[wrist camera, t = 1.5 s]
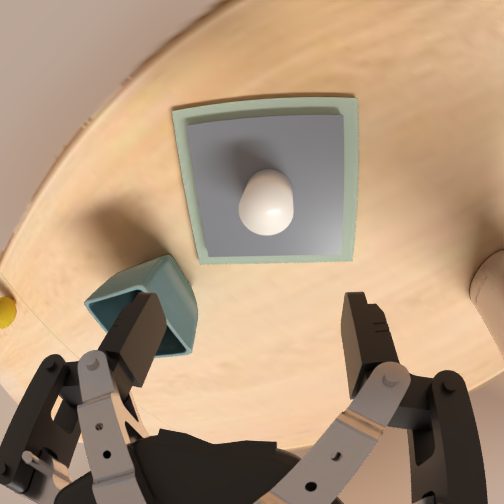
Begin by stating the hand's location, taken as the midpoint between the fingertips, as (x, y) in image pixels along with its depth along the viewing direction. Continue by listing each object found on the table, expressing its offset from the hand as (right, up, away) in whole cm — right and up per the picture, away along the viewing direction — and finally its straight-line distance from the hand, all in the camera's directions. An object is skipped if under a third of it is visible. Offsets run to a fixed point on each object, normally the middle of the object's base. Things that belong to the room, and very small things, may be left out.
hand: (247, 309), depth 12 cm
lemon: (-48, -7, +30) cm, 57 cm away
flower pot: (-10, 0, +21) cm, 23 cm away
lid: (+2, +8, +13) cm, 16 cm away
